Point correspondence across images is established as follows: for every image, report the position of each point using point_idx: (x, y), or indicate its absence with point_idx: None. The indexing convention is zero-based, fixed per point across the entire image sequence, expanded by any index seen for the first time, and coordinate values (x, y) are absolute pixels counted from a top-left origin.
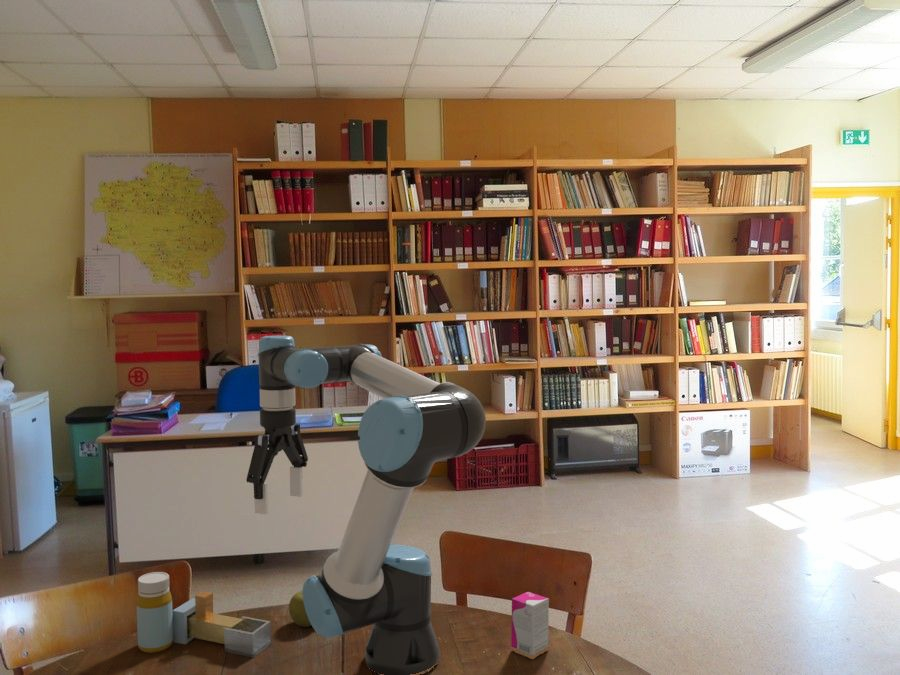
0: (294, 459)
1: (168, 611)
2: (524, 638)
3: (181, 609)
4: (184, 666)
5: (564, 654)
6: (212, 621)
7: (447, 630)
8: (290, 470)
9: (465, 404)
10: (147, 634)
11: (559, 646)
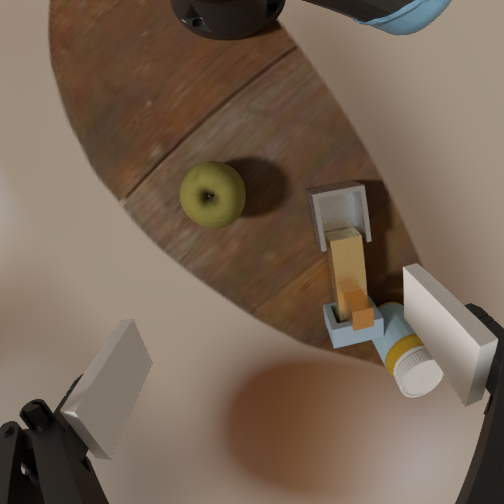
0: (83, 477)
1: (404, 327)
2: None
3: (376, 329)
4: (411, 245)
5: None
6: (360, 277)
7: (117, 8)
8: (114, 443)
9: None
10: None
11: None
